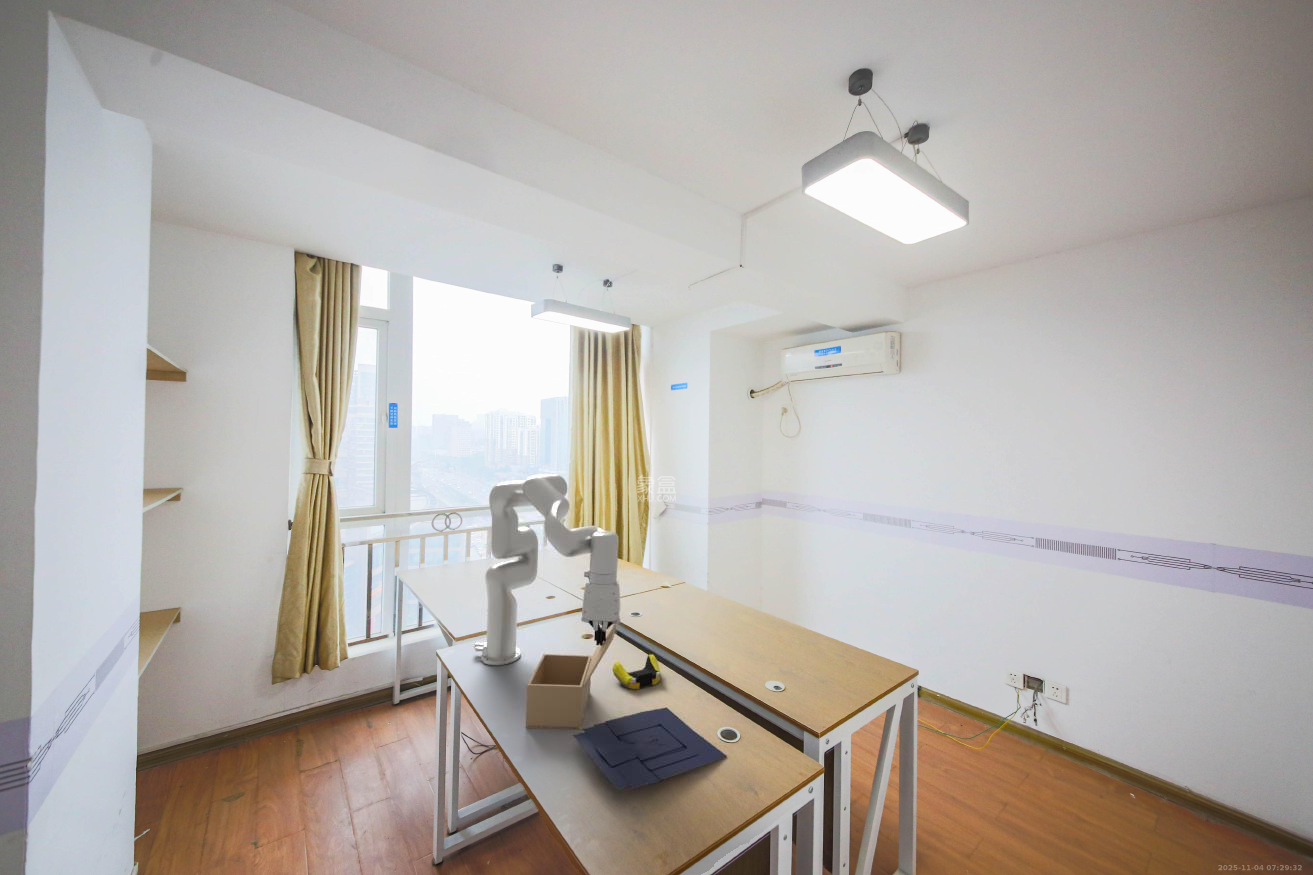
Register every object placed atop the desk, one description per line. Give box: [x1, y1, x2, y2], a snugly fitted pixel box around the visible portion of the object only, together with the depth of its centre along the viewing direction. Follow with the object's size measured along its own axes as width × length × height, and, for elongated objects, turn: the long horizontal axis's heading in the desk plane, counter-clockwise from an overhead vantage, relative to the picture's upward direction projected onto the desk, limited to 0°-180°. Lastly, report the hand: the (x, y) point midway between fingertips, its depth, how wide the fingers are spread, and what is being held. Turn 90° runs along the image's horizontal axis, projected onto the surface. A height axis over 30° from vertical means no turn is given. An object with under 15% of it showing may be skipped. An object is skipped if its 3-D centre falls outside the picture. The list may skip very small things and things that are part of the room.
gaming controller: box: [612, 654, 661, 690], centre depth 144 cm, size 15×6×10 cm
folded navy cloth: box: [572, 707, 727, 790], centre depth 111 cm, size 24×30×4 cm
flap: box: [584, 624, 617, 686], centre depth 127 cm, size 14×17×1 cm
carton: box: [525, 653, 592, 731], centre depth 127 cm, size 14×17×11 cm
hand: (599, 643), depth 127 cm, fingers closed
